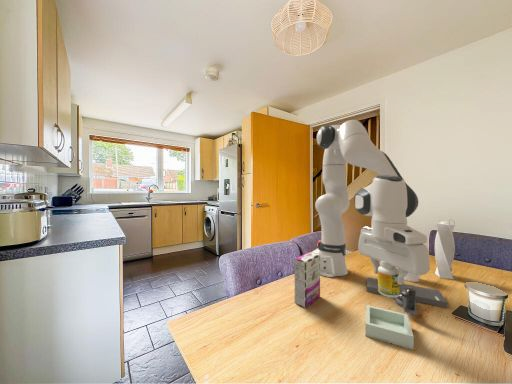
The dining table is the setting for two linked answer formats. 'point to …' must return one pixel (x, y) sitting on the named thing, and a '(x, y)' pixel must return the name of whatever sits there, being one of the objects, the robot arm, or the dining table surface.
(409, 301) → the crank
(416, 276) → the white cup
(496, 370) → the dining table surface
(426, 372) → the dining table surface
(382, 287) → the supplement bottle
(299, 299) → the candy bar box
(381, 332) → the tray
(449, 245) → the skyscraper
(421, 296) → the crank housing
